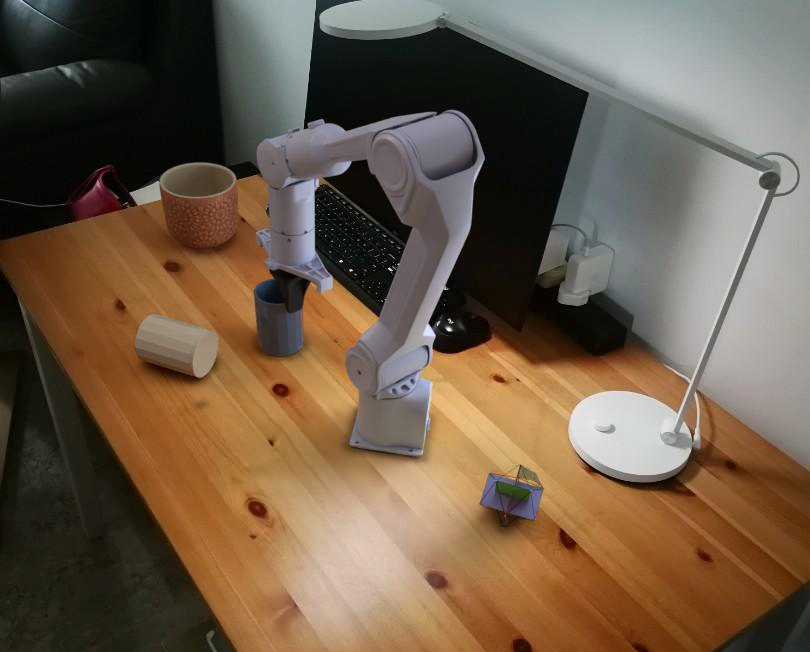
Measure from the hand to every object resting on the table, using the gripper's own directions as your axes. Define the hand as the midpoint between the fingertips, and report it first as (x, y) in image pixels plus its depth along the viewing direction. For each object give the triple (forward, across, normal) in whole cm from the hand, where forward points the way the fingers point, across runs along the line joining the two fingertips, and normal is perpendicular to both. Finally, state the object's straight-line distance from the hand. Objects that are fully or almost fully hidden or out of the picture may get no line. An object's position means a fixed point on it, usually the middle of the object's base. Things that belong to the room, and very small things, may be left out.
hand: (294, 310), depth 117 cm
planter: (+8, -35, +6) cm, 37 cm away
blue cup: (+8, -4, 0) cm, 9 cm away
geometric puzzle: (+8, +40, +2) cm, 41 cm away
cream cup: (+5, -4, -12) cm, 14 cm away
